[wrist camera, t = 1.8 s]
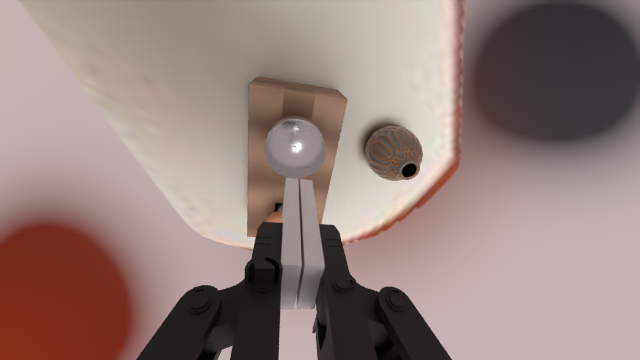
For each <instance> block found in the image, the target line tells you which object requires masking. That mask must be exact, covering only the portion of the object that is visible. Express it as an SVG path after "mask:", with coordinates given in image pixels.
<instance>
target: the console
mask: <svg viewBox="0 0 640 360" xmlns="http://www.w3.org/2000/svg"><path fill="white" fill-rule="evenodd" d="M346 103H347V98H346V97H344V96H343V95H342V94H341V93H340V92H339V91H338V90H333V89H327V88H321V87H314V86H308V85H302V84H296V83H289V82H283V81H277V80H271V79H264V78H258V77H257V78H256V79H254V80H253V81H252V82H251V83H250V84H249V121H248V219H247V237H256V234H257V229H258V227H259V226H260V225H261V224H262V222H264V220H265V219H266V218H267V217H268V216H269V215H270V214H272V213H274V212H277V209H278V204H279V203H283V201H284V192H285V182H286V178H287V177H284V176H281V175H280V174H278V173H276V172H275V171H274V170H273V169H272V168H271V167H270V166H269V164H268V162H267V160H266V157H265V152H264V148H265V143H266V139H267V136H268V133H269V130H270V129H271V127H272V126H273V125H274V124H275V123H276V122H277V121H279V120H280V119H282V118H285V117H289V116H300V117H304V118H307V119H309V120H310V121H312V122H313V123H314V124H316V126H317V127H318V128H319V130H320V131H321V134H322V136H323V139H324V142H325V147H326V154H325V159H324V161H323V163H322V165H321V166H320V168H319V169H318V170H317V171H316V172H314V173H313V174H311V175H309V176H307V177H304V178H298V186H299V184H300V179H305V180H312V182H313V189H314V196H315V203H316V209H317V216H318V223H319V224H321V222H322V217H323V213H324V208H325V203H326V198H327V194H328V189H329V184H330V179H331V175H332V170H333V165H334V160H335V156H336V151H337V146H338V141H339V137H340V132H341V127H342V122H343V118H344V113H345V108H346Z"/></svg>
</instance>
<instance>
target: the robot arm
mask: <svg viewBox="0 0 640 360" xmlns="http://www.w3.org/2000/svg"><path fill="white" fill-rule="evenodd" d="M296 295H297V309H314V308H315V304H316V310H317V314H316V318H315V322H314V326H313V332H312V333H315V331H316V341H317V357H318V360H452V359H451V358H450V356H449V355H448V353H447V352H446V351H445V349H444V348H443V346H442V345H441V344H440V342H439V340H438V339H437V338H436V336H435V335H434V333H433V332H432V330H431V329H430V327H429V326H428V325H427V323H426V322H425V320H424V319H423V317H422V316H421V314H420V313H419V312H418V310H417V309H416V307H415V306H414V304H413V303H412V302H411V300H410V299H409V297H408V296H407V295H406V294H405V293H404V292H402V291H401V290H399V289H397V288H394V287H384V288H382V289H381V290H380V292H377V291H374V290H371V289H368V288H365V287H363V286H361V285H359V284H358V283H357V282H356V280H355V279H354V278H353V277H352V276H351V275H350V273H349V269H348V265H347V261H346V257H345V253H344V249H343V245H342V241H341V237H340V233H339V231H338V230H337V229H336V227H335V226H334V225H325V224H319V223H318V216H317V209H316V203H315V196H314V189H313V182H312V180H305V179H300V184H299V186H298V179H294V178H286V182H285V192H284V201H283V211H282V223H279V222H262V224H261V225H260V226H259V227H258V229H257V234H256V239H255V244H254V249H253V254H252V259H251V260H250V261H249V262H248V263H247V265H246V267H245V279H244V280H243V281H242V282H240V283H239V284H237V285H235V286H232V287H230V288H226V289H223V290H219V291H218V290H217V288H215V287H213V286H210V285H209V286H208V285H202V286H198V287H194V288H193V289H191V290H189V291H188V292H186V293H185V294H184V295H183V296H182V297H181V298H180V300H179V301H178V302H177V304H176V306H175V307H174V308H173V310H172V311H171V312H170V314H169V315H168V316H167V318H166V319H165V320H164V322H163V323H162V325H161V326H160V328H159V329H158V330H157V332H156V333H155V334H154V336H153V337H152V339H151V340H150V341H149V343H148V344H147V345H146V347H145V348H144V350H143V351H142V352H141V354H140V355H139V357H138V358H137V359H136V360H217V359H218V357H219V355H220V353H221V350H222V349H225V348H227V347H230V346H233V347H232V352H231V358H230V360H278V355H279V328H280V327H279V325H280V309H294V306H295V300H296Z"/></svg>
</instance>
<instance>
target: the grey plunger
mask: <svg viewBox="0 0 640 360" xmlns="http://www.w3.org/2000/svg"><path fill="white" fill-rule="evenodd" d="M264 152H265V157H266V160H267V162H268V164H269V166H270V167H271V168H272V169H273V170H274V171H275V172H276V173H278V174H280V175H281V176H284V177H287V178H294V179H298V178H304V177H307V176H309V175H311V174H313V173H314V172H316V171H317V170H318V169H319V168H320V166H321V165H322V163H323V161H324V159H325V154H326V147H325V142H324V139H323V136H322V134H321V131H320V130H319V128H318V127H317V126H316V124H314V123H313V122H312V121H310V120H309V119H307V118H304V117H300V116H289V117H285V118H282V119H280V120H279V121H277V122H276V123H275V124H274V125H273V126H272V127H271V129H270V130H269V133H268V136H267V139H266V143H265V148H264Z"/></svg>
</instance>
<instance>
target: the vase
mask: <svg viewBox="0 0 640 360" xmlns="http://www.w3.org/2000/svg"><path fill="white" fill-rule="evenodd" d="M365 154H366V159H367V162H368V164H369V166H370V168H371V169H372V170H373V171H374V172H375V173H376V174H377V175H379V176H380V177H382V178H384V179H387V180H392V181H398V180H403V179H405V180H409V179H412V178H414V177H415V176H416V175H417V174H418V173H419V170H420V164H421V162H422V157H423V152H422V147H421V144H420V142H419V140H418V139H417V137H416V136H415V135H414V134H413V133H412V132H411V131H409V130H407V129H405V128H403V127H400V126H385V127H382V128H380V129H378V130H377V131H375V132H374V133H373V134H372V135H371V136H370V138H369V140H368V142H367V144H366V150H365Z"/></svg>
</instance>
